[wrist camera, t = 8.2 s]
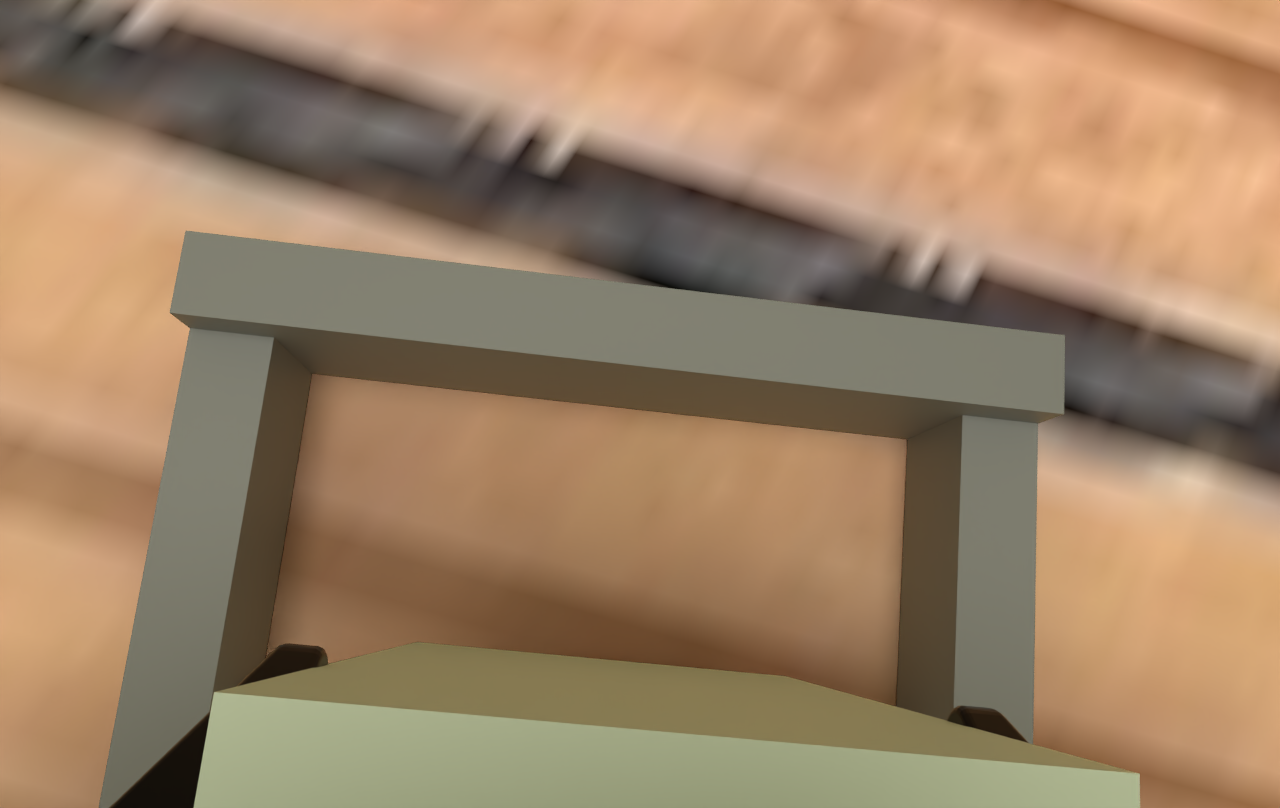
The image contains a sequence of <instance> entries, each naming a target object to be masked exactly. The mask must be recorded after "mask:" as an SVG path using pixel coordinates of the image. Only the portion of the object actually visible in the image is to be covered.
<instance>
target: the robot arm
mask: <svg viewBox="0 0 1280 808" xmlns="http://www.w3.org/2000/svg"><path fill="white" fill-rule="evenodd" d="M325 665H328V659H327V654H326V652H325V650H324V649H323V648H321V647H319V646H310V645H299V644H283V645H281V646H279V647H277V648H276V649H275V650H273V651H272V652H271V653H270V654H269V655H268V656H267V657H266V658H265V659H264V660H263V661H262V662H261V663H260V664H259V665H258V666H257V667H256V668H255V669H254V670H253V671H252V672H250V673H249V674H248V675H247V676H246V677H245V678H244V679H243V680H242V681H241V682H240V683H239V684H238V685H237V686H241V685H245V684H249V683H253V682H257V681H261V680H265V679H269V678H273V677H277V676H281V675H285V674H289V673H293V672H298V671H302V670H306V669H310V668H317V667H321V666H325ZM237 686H236V687H237ZM210 712H211V711H210ZM210 712H209V713H208V714H207V715H206V716H204V717H203V718H202V719H201V720H200V721H199V722H198V723H197V724H196V725H195V726H194V727H193V728H192V729H191V730H190V731H189V732H188V733H187V734H186V735H185V736H184V737H182V738H181V739H180V740H179V741H178V742H177V743H176V744H175V745H174V746H173V747H172V748H171V749H170V750H169V751H168V752H167V753H166V754H165V755H164V756H163V757H162V758H161V759H159V760H158V761H157V762H156V763H155V764H154V765H153V766H152V767H151V768H150V769H149V770H148V771H147V772H146V773H145V774H144V775H143V776H142V777H141V778H140V779H139V780H138V781H136V782H135V783H134V784H133V785H132V786H131V787H130V788H129V789H128V790H127V791H126V792H125V793H124V794H123V795H122V796H121V797H120V798H119V799H118V800H117V801H116V802H115V803H113V804H112V805H111V806H110V807H109V808H194V802H195V797H196V791H197V785H198V780H199V774H200V769H201V763H202V757H203V752H204V746H205V740H206V735H207V729H208V723H209V718H210ZM946 721H949V722H952V723H956V724H959V725H963V726H967V727H972V728H976V729H979V730H983V731H987V732H990V733H994V734H997V735H1001V736H1005V737H1008V738H1012V739H1016V740H1019V741H1023V742H1026V743H1029V742H1028V741H1027V740H1026V739H1025V738H1024V737H1023V736H1022V735H1021V734H1020V733H1019V732H1018V730H1017V729H1016V728H1015V727H1014V726H1013V725H1012V724H1011V723H1010V722H1009V721H1008V720H1007V718H1006V717H1005V716H1004V715H1003V714H1001V713H1000V712H998V711H997V710H995V709H992V708H985V707H974V706H963V705H961V706H957V707H955V708H954V709H953V710H952V711H951V712H950V714H949V716H948V718H947V720H946Z"/></svg>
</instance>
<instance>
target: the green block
mask: <svg viewBox="0 0 1280 808" xmlns="http://www.w3.org/2000/svg"><path fill="white" fill-rule="evenodd" d="M194 808H1140V774H1139V773H1135V772H1132V771H1128V770H1124V769H1121V768H1117V767H1114V766H1110V765H1106V764H1103V763H1099V762H1095V761H1092V760H1088V759H1084V758H1081V757H1077V756H1074V755H1070V754H1066V753H1063V752H1059V751H1055V750H1052V749H1048V748H1045V747H1041V746H1037V745H1034V744H1030V743H1026V742H1023V741H1019V740H1016V739H1012V738H1008V737H1005V736H1001V735H997V734H994V733H990V732H987V731H983V730H979V729H976V728H972V727H967V726H963V725H959V724H956V723H952V722H949V721H946V720H943V719H939V718H936V717H932V716H928V715H925V714H921V713H918V712H914V711H910V710H907V709H903V708H899V707H896V706H892V705H889V704H885V703H881V702H878V701H874V700H870V699H867V698H863V697H859V696H856V695H852V694H849V693H845V692H841V691H838V690H834V689H830V688H827V687H823V686H820V685H816V684H812V683H809V682H805V681H801V680H798V679H794V678H791V677H787V676H778V675H767V674H757V673H746V672H735V671H724V670H714V669H703V668H692V667H681V666H671V665H660V664H649V663H638V662H628V661H617V660H606V659H595V658H585V657H574V656H563V655H552V654H541V653H531V652H520V651H509V650H498V649H488V648H477V647H466V646H455V645H445V644H434V643H423V642H415V643H411V644H407V645H403V646H399V647H395V648H391V649H387V650H383V651H379V652H375V653H370V654H366V655H362V656H358V657H354V658H350V659H346V660H342V661H338V662H334V663H330V664H328V665H325V666H321V667H317V668H310V669H306V670H302V671H298V672H293V673H289V674H285V675H281V676H277V677H273V678H269V679H265V680H261V681H257V682H253V683H249V684H245V685H241V686H237V687H233V688H229V689H225V690H221V691H216V692H214V695H213V701H212V706H211V712H210V718H209V723H208V729H207V735H206V740H205V746H204V752H203V757H202V763H201V769H200V774H199V780H198V785H197V791H196V797H195V802H194Z"/></svg>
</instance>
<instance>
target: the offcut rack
mask: <svg viewBox="0 0 1280 808" xmlns="http://www.w3.org/2000/svg"><path fill="white" fill-rule="evenodd" d="M170 313H171V314H172V315H173V316H175V317H176V318H177V319H179V320H180V321H181V322H183V323H184V324H185V325H187V326H188V327H189V328H190V331H189V336H188V341H187V347H186V352H185V357H184V362H183V368H182V373H181V378H180V383H179V389H178V394H177V399H176V404H175V410H174V415H173V420H172V425H171V431H170V436H169V441H168V446H167V452H166V457H165V462H164V467H163V473H162V478H161V483H160V488H159V494H158V499H157V504H156V509H155V515H154V520H153V525H152V530H151V536H150V541H149V546H148V551H147V557H146V562H145V567H144V572H143V578H142V583H141V588H140V593H139V599H138V604H137V609H136V614H135V619H134V625H133V630H132V635H131V640H130V646H129V651H128V656H127V661H126V667H125V672H124V677H123V682H122V688H121V693H120V698H119V703H118V709H117V714H116V719H115V724H114V730H113V735H112V740H111V745H110V751H109V756H108V761H107V766H106V772H105V777H104V782H103V787H102V793H101V798H100V803H99V808H109V807H110V806H111V805H112V804H113V803H115V802H116V801H117V800H118V799H119V798H120V797H121V796H122V795H123V794H124V793H125V792H126V791H127V790H128V789H129V788H130V787H131V786H132V785H133V784H134V783H135V782H136V781H138V780H139V779H140V778H141V777H142V776H143V775H144V774H145V773H146V772H147V771H148V770H149V769H150V768H151V767H152V766H153V765H154V764H155V763H156V762H157V761H158V760H159V759H161V758H162V757H163V756H164V755H165V754H166V753H167V752H168V751H169V750H170V749H171V748H172V747H173V746H174V745H175V744H176V743H177V742H178V741H179V740H180V739H181V738H182V737H184V736H185V735H186V734H187V733H188V732H189V731H190V730H191V729H192V728H193V727H194V726H195V725H196V724H197V723H198V722H199V721H200V720H201V719H202V718H203V717H204V716H206V715H207V714H208V713H209V712H210V711H211V706H212V701H213V695H214V692H216V691H221V690H225V689H229V688H233V687H236V686H237V685H238V684H239V683H240V682H241V681H242V680H243V679H244V678H245V677H246V676H247V675H248V674H249V673H250V672H252V671H253V670H254V669H255V668H256V667H257V666H258V665H259V664H260V663H261V662H262V661H263V660H264V659H265V656H266V650H267V644H268V638H269V632H270V626H271V620H272V614H273V608H274V602H275V595H276V589H277V583H278V577H279V571H280V565H281V559H282V553H283V547H284V541H285V534H286V528H287V522H288V516H289V510H290V504H291V498H292V492H293V486H294V480H295V473H296V467H297V461H298V455H299V449H300V443H301V437H302V431H303V425H304V419H305V412H306V406H307V400H308V394H309V388H310V382H311V376H312V374H320V375H329V376H339V377H348V378H357V379H366V380H375V381H384V382H393V383H402V384H411V385H420V386H429V387H438V388H447V389H456V390H465V391H475V392H484V393H493V394H502V395H511V396H520V397H529V398H538V399H547V400H556V401H565V402H574V403H583V404H592V405H602V406H611V407H620V408H629V409H638V410H647V411H656V412H665V413H674V414H683V415H692V416H701V417H710V418H719V419H728V420H738V421H747V422H756V423H765V424H774V425H783V426H792V427H801V428H810V429H819V430H828V431H837V432H846V433H855V434H865V435H874V436H883V437H892V438H901V439H908V440H907V464H906V488H905V512H904V536H903V560H902V584H901V608H900V632H899V657H898V681H897V705H896V707H899V708H903V709H907V710H910V711H914V712H918V713H921V714H925V715H928V716H932V717H936V718H939V719H943V720H947V718H948V716H949V714H950V712H951V711H952V710H953V709H954V708H955V707H957V706H961V705H963V706H974V707H985V708H992V709H995V710H997V711H998V712H1000V713H1001V714H1003V715H1004V716H1005V717H1006V718H1007V720H1008V721H1009V722H1010V723H1011V724H1012V725H1013V726H1014V727H1015V728H1016V729H1017V730H1018V732H1019V733H1020V734H1021V735H1022V736H1023V737H1024V738H1025V739H1026V740H1027V741H1028V742H1029V743H1030V744H1033V708H1034V643H1035V578H1036V512H1037V447H1038V423H1041V422H1043V421H1046V420H1049V419H1052V418H1055V417H1058V416H1060V415H1063V414H1064V370H1065V335H1057V334H1048V333H1040V332H1032V331H1023V330H1015V329H1007V328H998V327H990V326H981V325H973V324H965V323H956V322H948V321H939V320H931V319H923V318H914V317H906V316H897V315H889V314H881V313H872V312H864V311H855V310H847V309H839V308H830V307H822V306H814V305H805V304H797V303H788V302H780V301H772V300H763V299H755V298H746V297H738V296H730V295H721V294H713V293H704V292H696V291H688V290H679V289H671V288H662V287H654V286H646V285H637V284H629V283H621V282H612V281H604V280H595V279H587V278H579V277H570V276H562V275H553V274H545V273H537V272H528V271H520V270H511V269H503V268H495V267H486V266H478V265H469V264H461V263H453V262H444V261H436V260H428V259H419V258H411V257H402V256H394V255H386V254H377V253H369V252H360V251H352V250H344V249H335V248H327V247H318V246H310V245H302V244H293V243H285V242H276V241H268V240H260V239H251V238H243V237H235V236H226V235H218V234H209V233H201V232H193V231H186V232H185V237H184V242H183V247H182V252H181V257H180V263H179V268H178V273H177V278H176V283H175V288H174V293H173V298H172V303H171V309H170Z"/></svg>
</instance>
